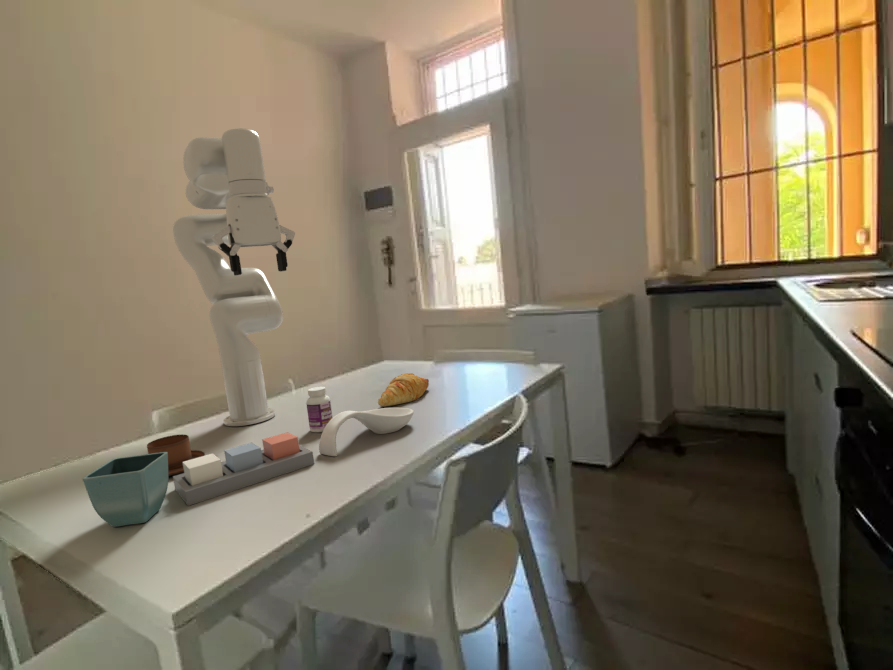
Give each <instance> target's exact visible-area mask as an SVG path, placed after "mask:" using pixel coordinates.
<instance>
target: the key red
mask: <svg viewBox="0 0 893 670" xmlns="http://www.w3.org/2000/svg"><path fill="white" fill-rule="evenodd" d="M261 440H262V447H263V450H264V454H265V455H266V456H268V457H269V458H271V459H273V460H276V459H279V458H283V457H286V456H289V455H292V454H295V453H299V452H300V450H299V445H300V444H299V437H298V436H297V435H294V434H292V433H290V432H283V433H279V434H275V435H273V436H269V437H266V438H263V439H261Z"/></svg>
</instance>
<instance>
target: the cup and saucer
mask: <svg viewBox="0 0 893 670" xmlns="http://www.w3.org/2000/svg"><path fill="white" fill-rule="evenodd" d="M146 448H147V454H153V453H160V452H168V477H171V476H176V475H179V474H183V473H184V468H183V462H184V461H188V460H191V459H195V458H198V457H202V456H205V455H206V454H205V451H202V450H196V449H195V450H193V449H192V450H191V443H190V437H189V435H188V434H173V435H168V436H164V437H163V436H162V437H160V438H156V439H153V440H152V441H150V442H148V443H147V444H146Z"/></svg>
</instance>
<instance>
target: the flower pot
mask: <svg viewBox="0 0 893 670" xmlns="http://www.w3.org/2000/svg"><path fill="white" fill-rule="evenodd" d="M82 482H83V485H84V486H85V489H86V493H87V496H88V497H89V500H90V503H91V506H92V508H93V509H94V511H95V512H96V513H97V515H98V516H99V517H100V518H101V519H102V520H103V521H104V522H105V523H107V524H108V525H110V526H111V527H114V528H115V527H123V526H130V525H137V524H143V523H146V522H148V521H149V520H150V519H151V518H152V517H153V516H154V515H155V514H156V513H158V512H159V510H160V509H161V508H162V505H163V503H164V501H165V498H166V495H167V492H168V486H169V476H168V452H160V453H153V454H148V453H147V454H139V455H132V456H130V455H129V456H123V457H122V456H121V457H115V458H112V459H110V460H108V461H107V462H105V463H104V464H103V465H101V466H99V467H98V468H95V470H93V471H91V472H90V473H87V474H86V475H85V476H84V477H82Z"/></svg>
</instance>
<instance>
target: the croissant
mask: <svg viewBox="0 0 893 670" xmlns="http://www.w3.org/2000/svg"><path fill="white" fill-rule="evenodd" d="M429 385H430V384H429V379H428V378H425V377H420V376H418V375H415V374H414V373H402V374H400V375H398V376H397V377H396V376H395V377H394V378H393V379H391V381H390V382H389V384H388V385H387V386H386V388H385V391H383V392H382V393H381V396H380V397H379V398H378V400H377V403H378V406H379V407H391V406H396V405H403V404H407V403H411V402H414V401H416V400H418V399H420V397H422V396H424V394H425V392H426V391H427V389H428V388H429Z"/></svg>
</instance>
